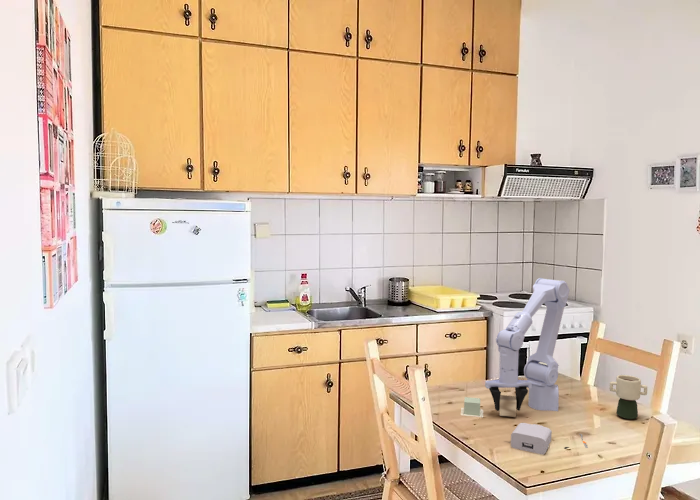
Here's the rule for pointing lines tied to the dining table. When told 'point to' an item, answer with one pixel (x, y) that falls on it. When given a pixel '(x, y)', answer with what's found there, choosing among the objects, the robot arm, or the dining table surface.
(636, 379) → the trophy cup
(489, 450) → the dining table surface
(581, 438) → the key chain
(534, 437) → the charger
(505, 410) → the maple block
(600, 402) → the dining table surface
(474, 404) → the sage base block
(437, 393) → the dining table surface
